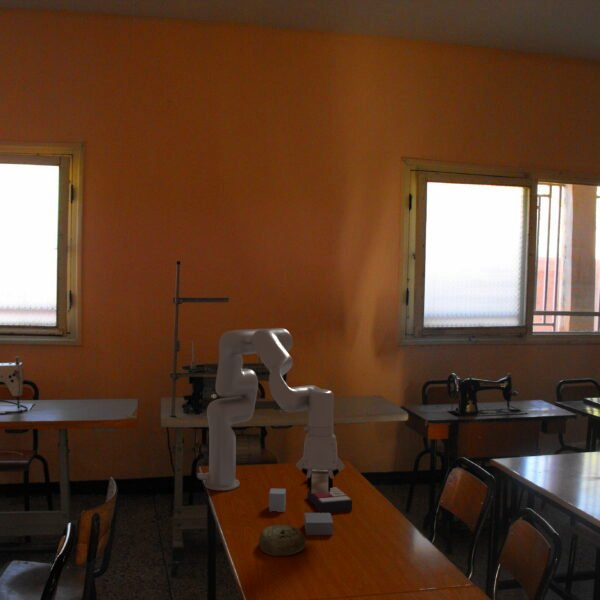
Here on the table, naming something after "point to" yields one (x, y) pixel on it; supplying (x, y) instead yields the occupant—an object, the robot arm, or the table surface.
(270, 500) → the gray block
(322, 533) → the slate base block
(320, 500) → the red and white box
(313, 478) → the maple block
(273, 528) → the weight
